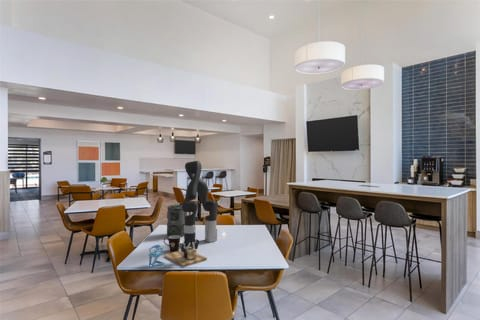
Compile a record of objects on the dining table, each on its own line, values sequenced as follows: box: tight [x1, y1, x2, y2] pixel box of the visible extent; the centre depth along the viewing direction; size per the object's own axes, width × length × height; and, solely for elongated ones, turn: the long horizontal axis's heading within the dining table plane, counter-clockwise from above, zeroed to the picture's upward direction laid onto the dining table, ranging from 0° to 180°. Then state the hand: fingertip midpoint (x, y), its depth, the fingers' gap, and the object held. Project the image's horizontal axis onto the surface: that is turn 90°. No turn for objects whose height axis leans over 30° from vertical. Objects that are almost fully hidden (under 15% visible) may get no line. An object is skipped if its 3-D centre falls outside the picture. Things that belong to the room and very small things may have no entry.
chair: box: [147, 244, 166, 268], centre depth 170 cm, size 8×8×12 cm
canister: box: [166, 202, 187, 238], centre depth 236 cm, size 16×16×28 cm
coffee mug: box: [163, 235, 181, 253], centre depth 198 cm, size 12×9×10 cm
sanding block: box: [182, 247, 197, 261], centre depth 179 cm, size 5×9×6 cm, turn 45°
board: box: [163, 249, 208, 268], centre depth 182 cm, size 18×24×2 cm
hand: (189, 256), depth 179 cm, fingers closed on sanding block, 5 cm apart
